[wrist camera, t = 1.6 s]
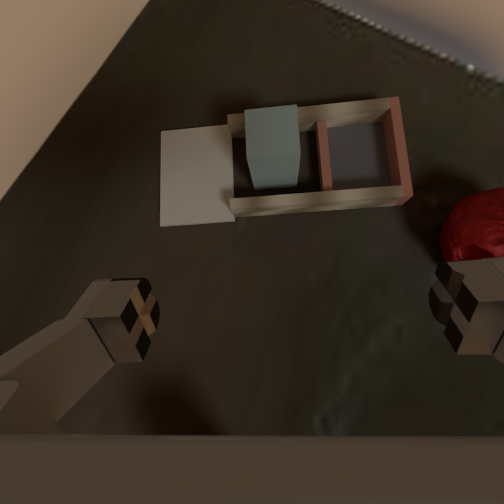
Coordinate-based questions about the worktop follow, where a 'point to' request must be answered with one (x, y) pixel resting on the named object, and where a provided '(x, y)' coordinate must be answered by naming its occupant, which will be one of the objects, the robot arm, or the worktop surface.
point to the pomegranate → (475, 227)
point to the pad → (196, 176)
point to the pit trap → (365, 155)
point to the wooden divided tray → (322, 200)
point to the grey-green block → (273, 146)
